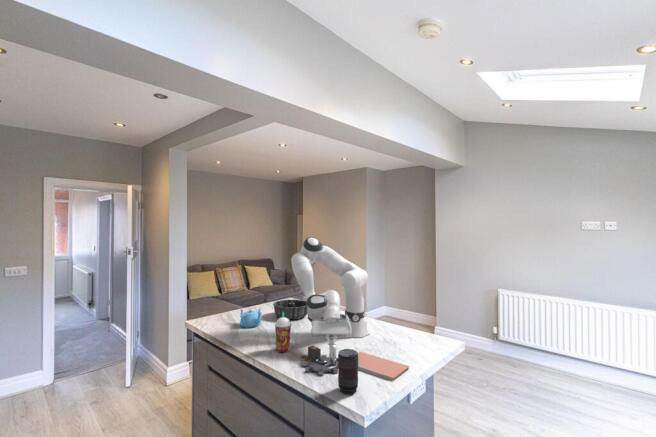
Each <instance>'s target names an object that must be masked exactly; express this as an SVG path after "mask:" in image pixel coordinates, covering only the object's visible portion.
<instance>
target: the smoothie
mask: <svg viewBox="0 0 656 437" xmlns="http://www.w3.org/2000/svg"><path fill="white" fill-rule="evenodd" d="M274 327H275V328H274V332H275V349H276V351H277V353H280V354H281V353H287V352H289V350H290V343H291V333H292V332H291V329H292V323H291V321H290V320H289V319H288V318H286V317H284V312H283V317H281V318H279V317H278V319H277V320H276V322H275V323H274Z"/></svg>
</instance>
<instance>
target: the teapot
mask: <svg viewBox="0 0 656 437" xmlns="http://www.w3.org/2000/svg"><path fill="white" fill-rule="evenodd" d="M262 309H263V307H260V308H258V310H257V311H255V310H254V309H248V310H247V311H244V310H243V308H242V307H241V308H240V307H239V310H240V321H239V326H241V327H242V328H247V329H250V328H251V329H252V328H257V327H258V326H259V325H261V320H262V317H261V315H262V311H261V310H262Z"/></svg>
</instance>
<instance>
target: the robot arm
mask: <svg viewBox="0 0 656 437" xmlns="http://www.w3.org/2000/svg"><path fill="white" fill-rule="evenodd" d="M316 260H317V261H320V263H322V264H323V265H324V266H326V268H328V270H330V271H331V272H332V273H333V274H335V275H337V276H340V277H341V279H340V282H341V285H342V287H343V289H344V294H345V310H344V313H341V310H340V309H341V298H340V294H339V293H338V292H337V291H336V290H333V289H327V290H326V291H324V292H322V293H317V294H316V291H315V284H314V271H313V270H314V269H313V267H314V265H315V263H316ZM290 261H291V262H290V263H291V267H292V268H291V269H292V272H293V274H294V276H295V278H296V280H297V282H298V284H299V287H300V289H301V291H302V293H303V295H304V298H305V301H306V303H307V311H308V313H307V319H308V320H309V322H311V324H310V325H311V330H310V331H311V333H310V334H311V336H312V337H313V338H326V341H327V342H328V343H327V345H328V346H330V344H335V342H336V341H337V338H355V339H356V338H363V337H366V336H369V335H371V333H370V331H369V330H368V321H367V319H366V317H365V315H366V314H365V298H364V297H365V296H364V295H363V291H362V286H364V285H365V284H366V283H367V281H368V279H369V274H368V273H367V270H365V269H363V268H361V267H359V266H357V265H356V264H354V263H352V262H350V261H349V260H347V259H345V258H344V257H343V256H342V255H341V254H339V253H338V252H337V251H335V250H334V249H333V248H331V247H329V246H327V245H323V243H322V242H321V241H320V240H319V239H317V238H316V237H311V236H309V237H307V238H305V240H303V243H302V246H301V249H300V252H296V253H294V254H293V255H292V257H291V260H290ZM330 338H333V340H330Z"/></svg>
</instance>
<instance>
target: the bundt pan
mask: <svg viewBox="0 0 656 437" xmlns="http://www.w3.org/2000/svg"><path fill="white" fill-rule="evenodd" d="M272 305H273V310H274V315H275V316H276V317H277V318H278V319H279V318H281V317H283V312H284V317H286V318H288V319H289V321H290V320H293V321H294V320H300V319H304V318H306V316H308V311H307V303H306V300H302V299H281V300H275V301H274V302H273V304H272Z"/></svg>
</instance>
